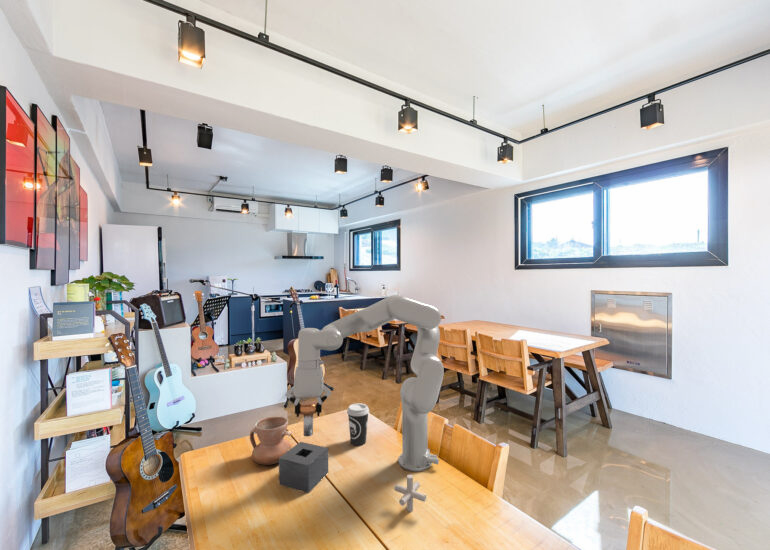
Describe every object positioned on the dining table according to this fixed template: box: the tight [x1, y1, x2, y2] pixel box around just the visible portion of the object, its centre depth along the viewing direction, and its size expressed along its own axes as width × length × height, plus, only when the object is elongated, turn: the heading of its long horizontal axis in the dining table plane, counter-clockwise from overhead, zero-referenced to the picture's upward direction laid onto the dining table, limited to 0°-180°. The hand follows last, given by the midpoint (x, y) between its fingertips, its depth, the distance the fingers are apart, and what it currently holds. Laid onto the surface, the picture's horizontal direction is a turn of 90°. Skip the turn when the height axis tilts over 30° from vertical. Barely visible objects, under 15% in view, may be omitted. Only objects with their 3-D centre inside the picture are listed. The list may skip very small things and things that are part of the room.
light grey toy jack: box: [393, 474, 427, 512], centre depth 100 cm, size 10×10×10 cm
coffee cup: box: [346, 402, 370, 447], centre depth 141 cm, size 10×10×15 cm
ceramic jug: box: [249, 416, 293, 466], centre depth 129 cm, size 18×14×14 cm
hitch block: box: [278, 441, 329, 494], centre depth 116 cm, size 12×12×9 cm
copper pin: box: [299, 400, 318, 437], centre depth 116 cm, size 6×6×10 cm
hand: (308, 414), depth 116 cm, fingers closed on copper pin, 6 cm apart
